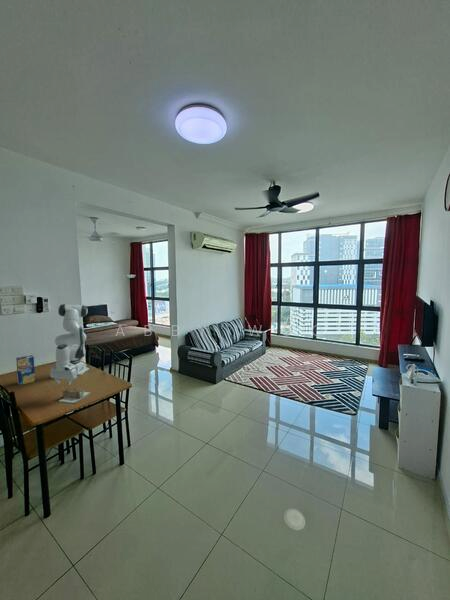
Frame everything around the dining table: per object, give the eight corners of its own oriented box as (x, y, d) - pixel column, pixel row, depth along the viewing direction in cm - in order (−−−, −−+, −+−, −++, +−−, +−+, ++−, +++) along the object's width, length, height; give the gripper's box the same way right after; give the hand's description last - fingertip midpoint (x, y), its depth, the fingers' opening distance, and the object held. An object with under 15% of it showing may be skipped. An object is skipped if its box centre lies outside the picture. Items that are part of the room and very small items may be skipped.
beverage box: (35, 381, 210) (33, 356, 209) (18, 385, 202) (17, 359, 201) (33, 379, 215) (32, 355, 213) (17, 382, 207) (16, 357, 205)
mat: (75, 391, 193) (75, 390, 192) (90, 393, 190) (90, 392, 190) (58, 401, 177) (58, 400, 177) (75, 403, 175) (75, 402, 175)
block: (68, 387, 187) (84, 389, 185) (68, 393, 187) (84, 395, 185) (62, 390, 182) (79, 392, 180) (63, 396, 182) (79, 398, 180)
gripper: (47, 366, 182) (48, 384, 183) (71, 368, 179) (72, 386, 180) (54, 364, 188) (55, 381, 189) (78, 365, 185) (78, 383, 186)
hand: (63, 384), depth 184 cm, fingers open, 8 cm apart
